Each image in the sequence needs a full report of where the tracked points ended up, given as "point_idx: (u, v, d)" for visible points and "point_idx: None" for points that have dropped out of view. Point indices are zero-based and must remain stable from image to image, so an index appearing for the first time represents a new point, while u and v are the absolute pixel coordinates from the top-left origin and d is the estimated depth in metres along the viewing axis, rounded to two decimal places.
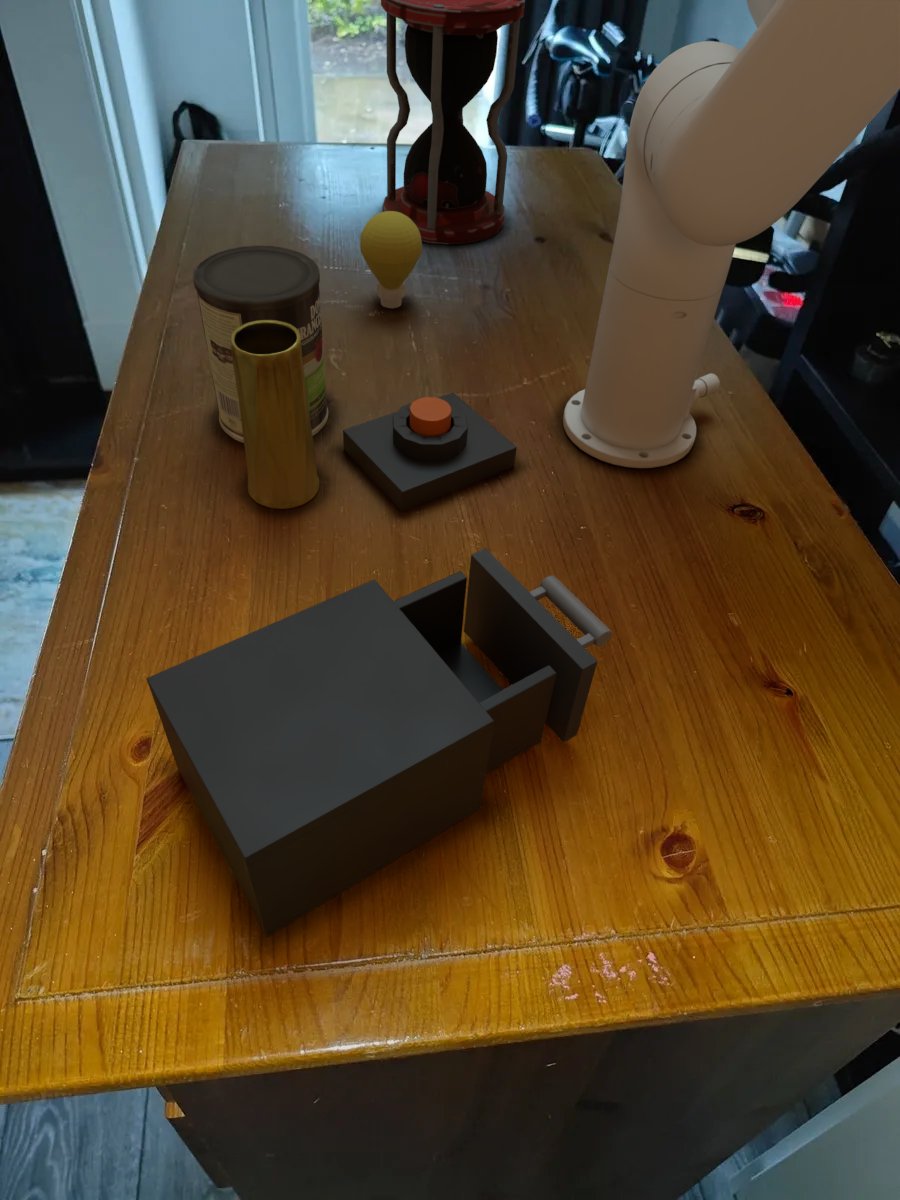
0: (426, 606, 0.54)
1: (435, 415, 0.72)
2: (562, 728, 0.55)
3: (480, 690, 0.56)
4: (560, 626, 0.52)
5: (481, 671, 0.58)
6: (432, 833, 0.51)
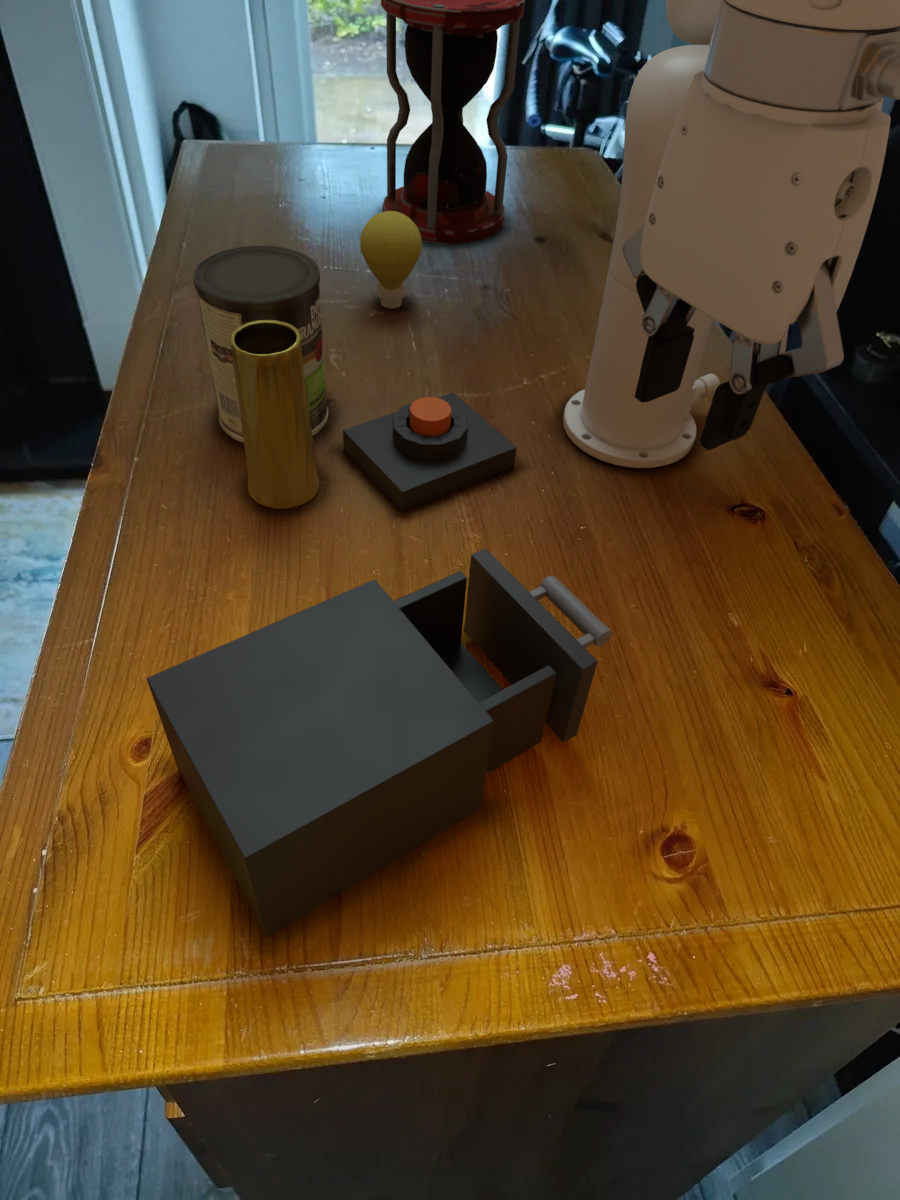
0: (426, 606, 0.54)
1: (435, 415, 0.72)
2: (562, 728, 0.55)
3: (480, 690, 0.56)
4: (560, 626, 0.52)
5: (481, 671, 0.58)
6: (432, 833, 0.51)
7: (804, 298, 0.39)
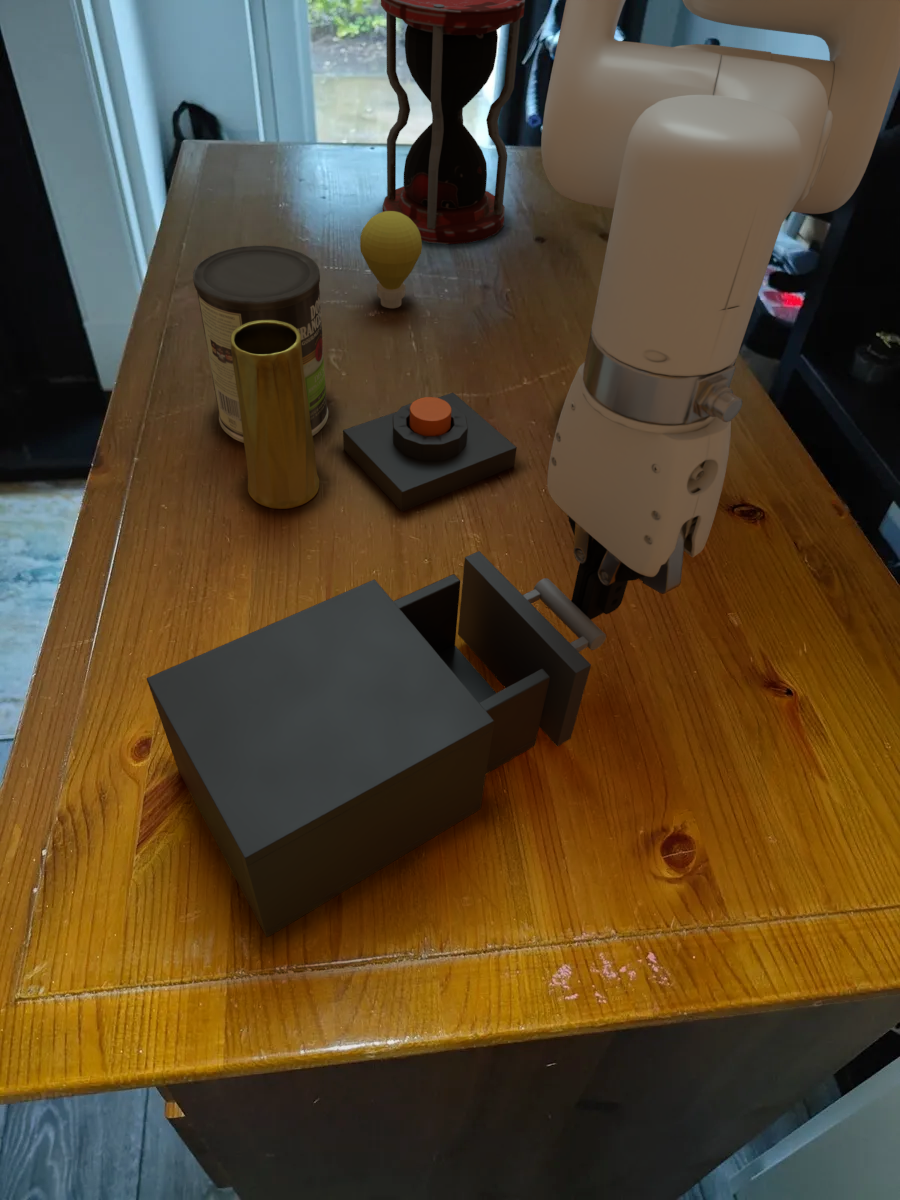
0: (419, 610, 0.54)
1: (435, 415, 0.72)
2: (555, 732, 0.54)
3: (474, 694, 0.56)
4: (553, 629, 0.52)
5: (475, 674, 0.57)
6: (432, 833, 0.51)
7: (671, 547, 0.47)
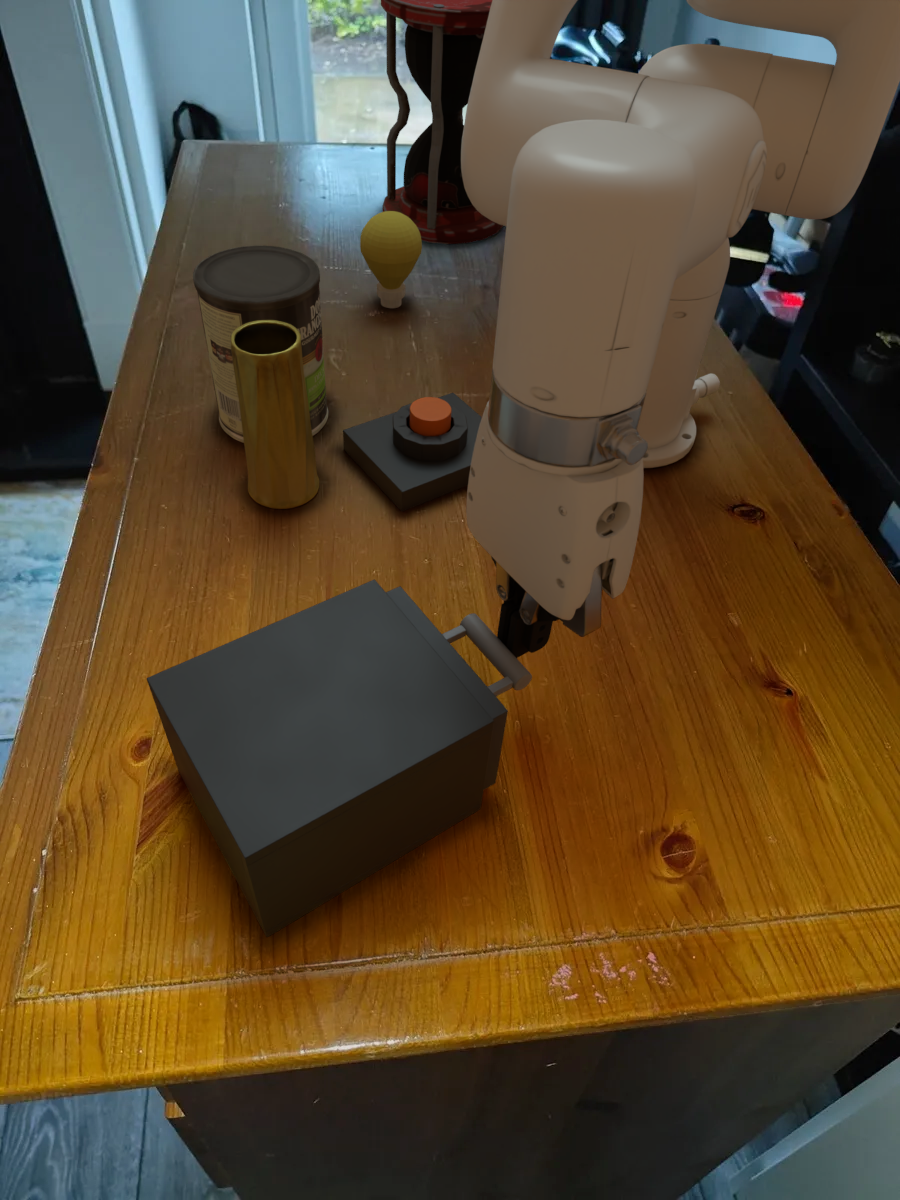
0: None
1: (435, 415, 0.72)
2: None
3: None
4: (471, 672, 0.49)
5: None
6: (432, 833, 0.51)
7: (585, 591, 0.45)
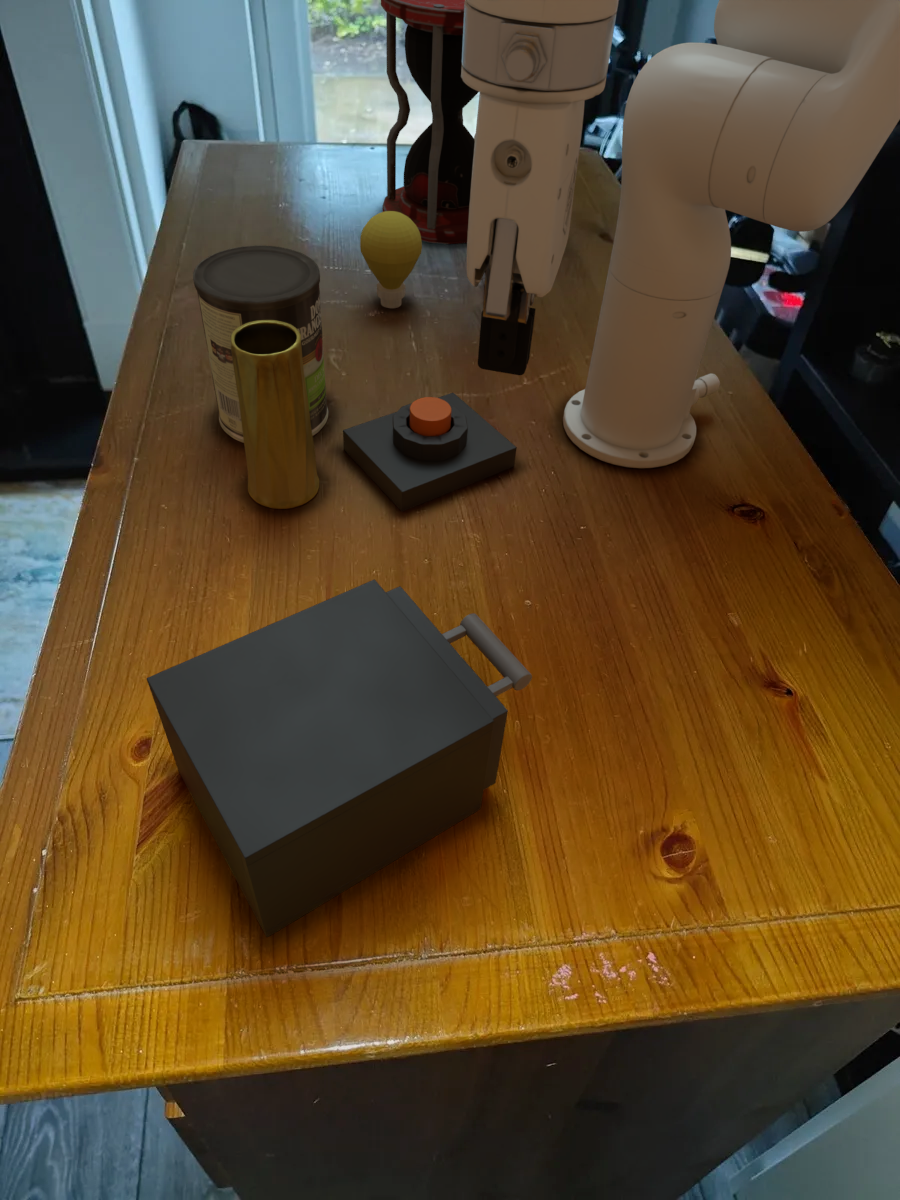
0: None
1: (435, 415, 0.72)
2: None
3: None
4: (471, 672, 0.49)
5: None
6: (432, 833, 0.51)
7: (483, 248, 0.46)
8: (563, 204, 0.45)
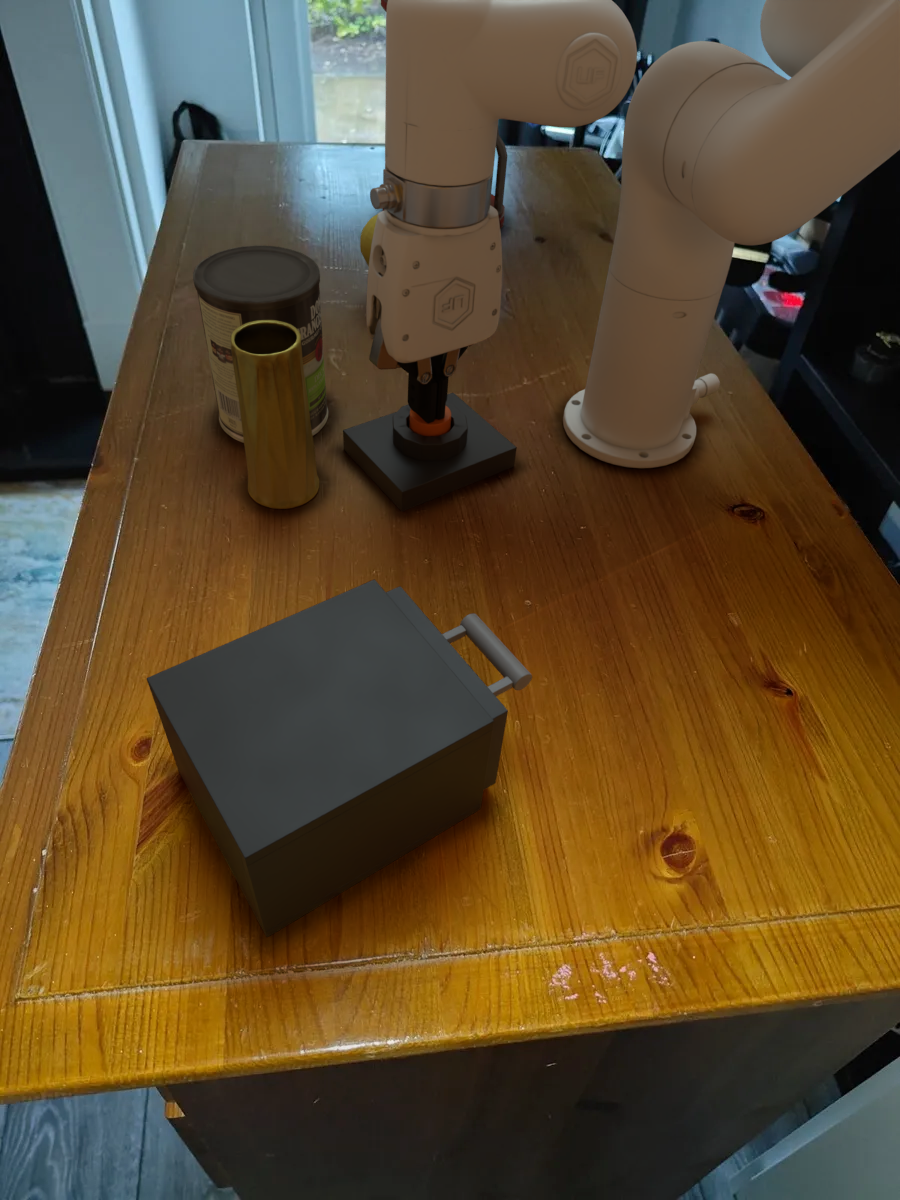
0: None
1: (435, 419, 0.72)
2: None
3: None
4: (471, 672, 0.49)
5: None
6: (432, 833, 0.51)
7: (369, 312, 0.64)
8: (421, 303, 0.61)
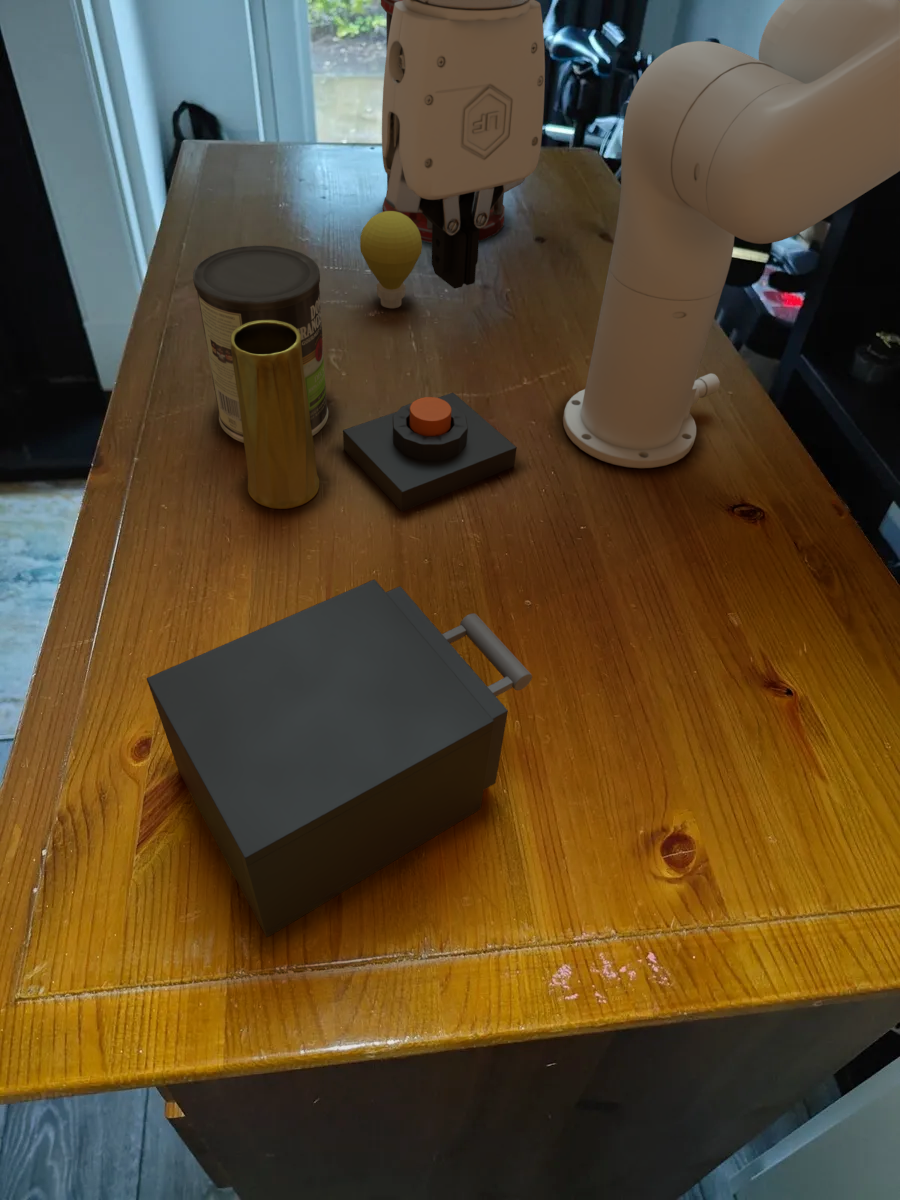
0: None
1: (435, 415, 0.72)
2: None
3: None
4: (471, 672, 0.49)
5: None
6: (432, 833, 0.51)
7: (385, 138, 0.53)
8: (447, 116, 0.51)
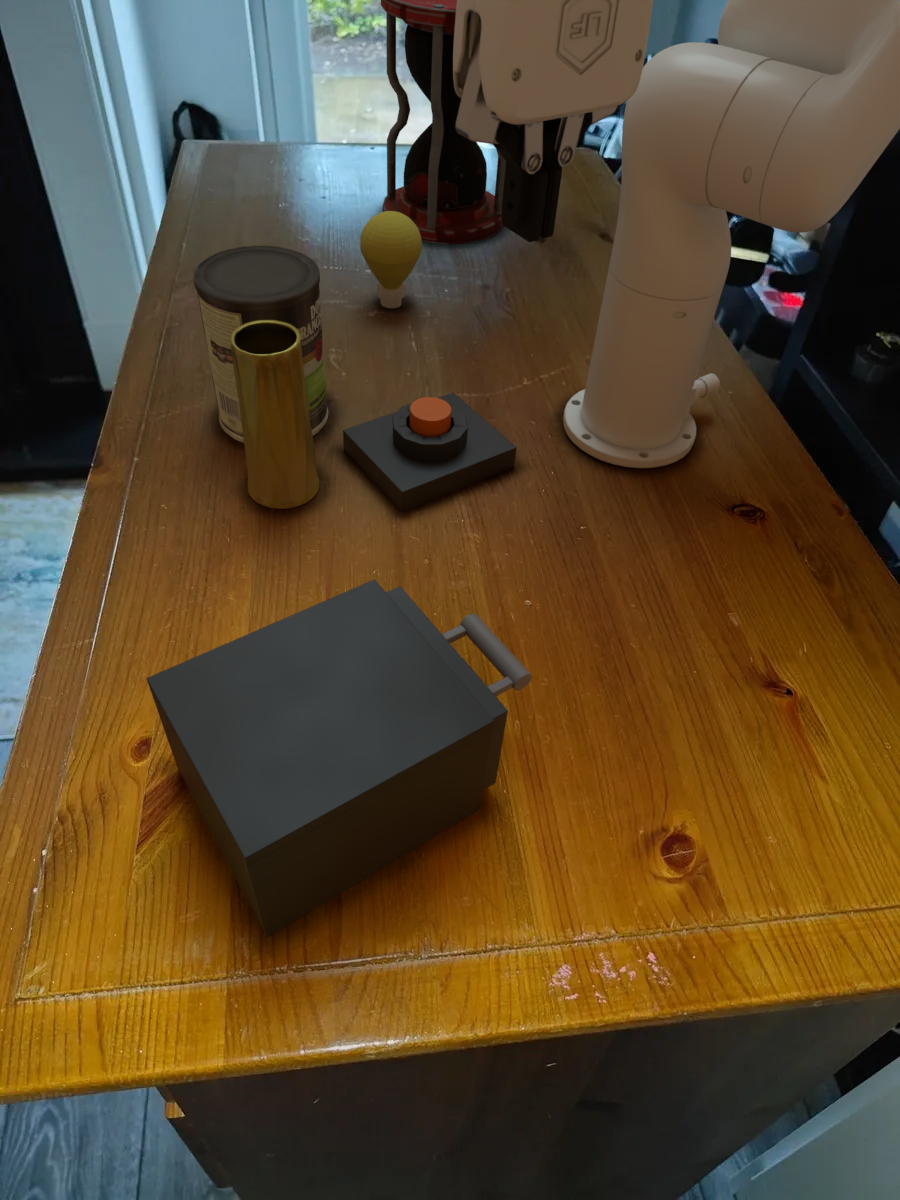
0: None
1: (435, 415, 0.72)
2: None
3: None
4: (471, 672, 0.49)
5: None
6: (432, 833, 0.51)
7: (459, 46, 0.43)
8: (543, 13, 0.40)
